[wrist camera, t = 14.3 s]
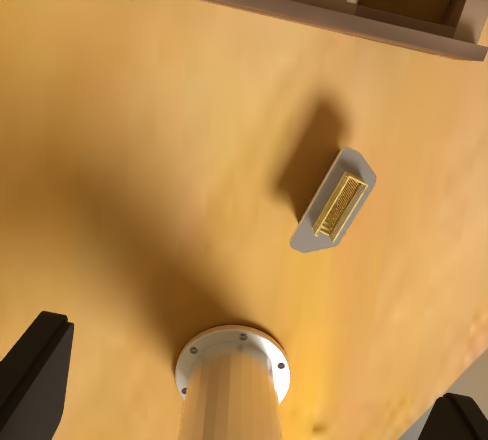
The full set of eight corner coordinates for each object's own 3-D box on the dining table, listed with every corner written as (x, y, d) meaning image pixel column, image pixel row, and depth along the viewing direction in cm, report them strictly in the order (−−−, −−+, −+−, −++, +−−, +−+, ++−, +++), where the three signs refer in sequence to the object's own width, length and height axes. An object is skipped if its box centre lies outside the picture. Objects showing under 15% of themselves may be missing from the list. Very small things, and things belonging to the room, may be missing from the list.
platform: (431, 132, 41) (464, 147, 35) (333, 288, 47) (346, 324, 41) (317, 72, 40) (330, 77, 33) (229, 242, 45) (226, 273, 39)
